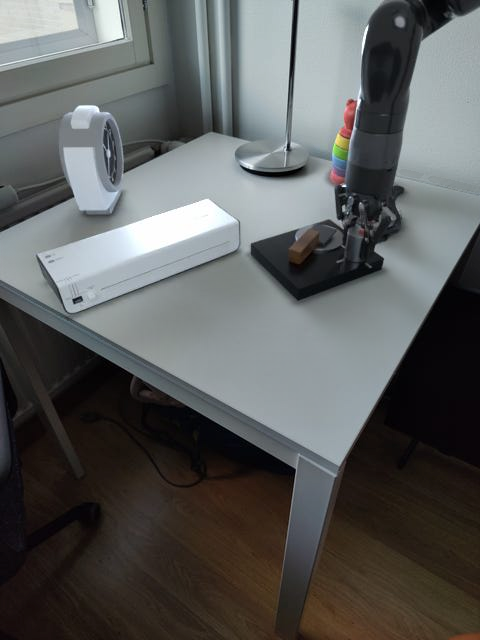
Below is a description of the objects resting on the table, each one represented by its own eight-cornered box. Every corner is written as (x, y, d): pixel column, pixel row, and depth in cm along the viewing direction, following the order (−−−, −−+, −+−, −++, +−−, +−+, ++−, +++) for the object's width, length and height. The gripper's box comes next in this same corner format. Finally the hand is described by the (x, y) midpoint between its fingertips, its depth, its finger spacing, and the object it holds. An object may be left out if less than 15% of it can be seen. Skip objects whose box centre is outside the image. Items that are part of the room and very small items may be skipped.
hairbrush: (419, 180, 103) (396, 227, 86) (415, 196, 106) (392, 244, 88) (382, 174, 106) (353, 218, 89) (379, 189, 108) (350, 235, 91)
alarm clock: (114, 222, 97) (92, 123, 84) (74, 223, 97) (45, 124, 84) (131, 185, 110) (114, 94, 97) (96, 185, 111) (74, 94, 97)
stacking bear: (381, 178, 111) (396, 99, 99) (357, 193, 105) (370, 111, 93) (343, 166, 116) (353, 90, 105) (319, 179, 111) (327, 100, 99)
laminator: (210, 225, 95) (208, 198, 91) (244, 252, 88) (243, 223, 84) (45, 283, 81) (34, 253, 77) (69, 321, 74) (58, 290, 69)
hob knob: (339, 254, 82) (343, 228, 79) (356, 247, 84) (360, 221, 80) (354, 265, 80) (359, 238, 76) (371, 258, 81) (377, 231, 78)
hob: (328, 229, 93) (330, 218, 92) (386, 272, 82) (389, 260, 80) (250, 254, 87) (250, 242, 85) (301, 304, 76) (302, 292, 74)
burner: (324, 222, 91) (325, 220, 91) (354, 243, 85) (354, 241, 85) (286, 233, 88) (286, 232, 87) (313, 256, 82) (313, 255, 82)
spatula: (315, 225, 88) (316, 213, 86) (336, 231, 86) (337, 219, 84) (283, 258, 81) (283, 246, 80) (305, 266, 80) (306, 254, 78)
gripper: (325, 145, 73) (315, 239, 85) (386, 179, 64) (366, 279, 75) (362, 136, 76) (348, 228, 87) (426, 168, 66) (401, 266, 78)
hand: (356, 251), depth 81 cm, fingers closed on hob knob, 4 cm apart
